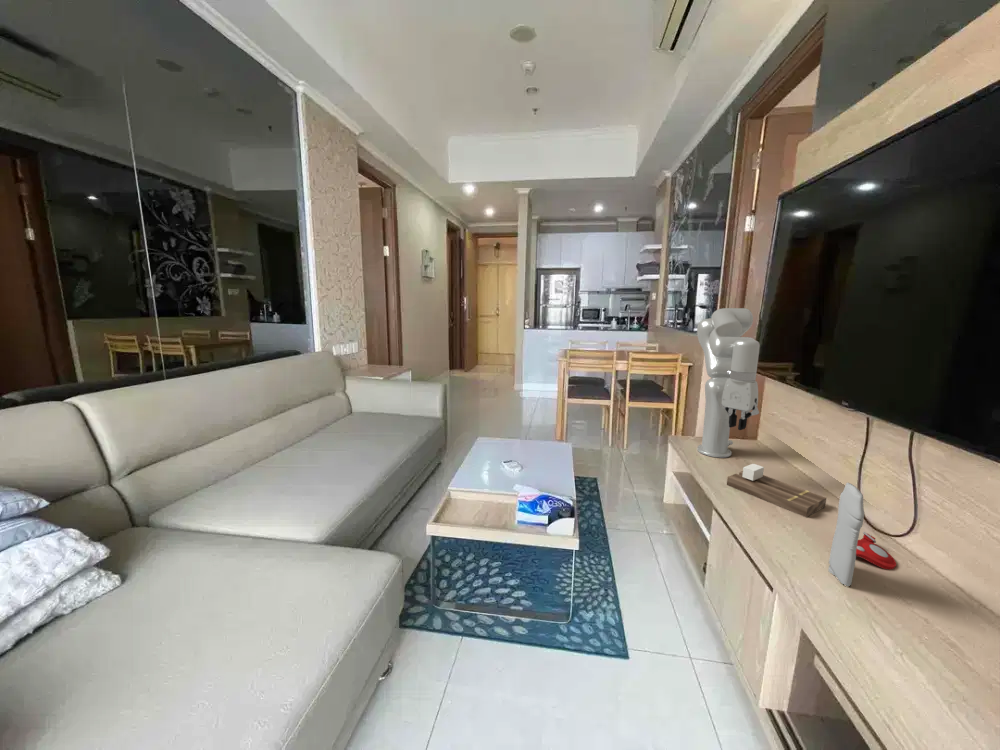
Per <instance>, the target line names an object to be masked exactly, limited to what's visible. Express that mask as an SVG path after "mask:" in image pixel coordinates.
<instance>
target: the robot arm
mask: <svg viewBox="0 0 1000 750" xmlns="http://www.w3.org/2000/svg"><path fill="white" fill-rule="evenodd" d="M753 322H754V315H753V313H752V312H751V310H750V309H748V308H745V307H742V308H739V307H738V308H737V307H736V308H735V307H726V308H725V307H723V308H719V309H716V310H715V311H713V313H712V314H711V318H710V317H709V318H705V319H701V320H700V321H699V322H698V323H697V328H696V335H697V340H698V342H699V345H700V347H701V348H702V351H703V355H704V363H705V370H706V373H707V376H708V377H709V379H707V380H706V381H705V384H704V396H705V407H704V419H703V428H702V438H701V444H699V445H697V447H696V448H697V451H698V452H699V453H700V454H703V455H704V456H708V457H711V458H712V457H713V458H719V459H720V458H721V459H722V458H723V459H725V458H729V457H731V456H732V451H731V449H729V446H731V445H733V444H734V443H733V441H732V440H731V439H730V438H729V437H730V431H731V430H730V429H731V428H734V427H736V426H737V425H738V426H737V428H738V430H739V431H742V430H745V428H747V422H748V419H749V418H750V417H752V416H757V415H759V414H760V411H759V407H758V403H759V385H758V381H756V380H757V379H756V378H757V371H758V370H757V369H758V362H759V355H760V348H761V346H760V342H759V341H758V340H756V339H755V338H754V337H747V336H744V335H745V333H746V332H748V331H749V330H750V328H752V325H753ZM737 410H738V411H741V413H740V414H741V416H740V418H739V419H738V415H736V414H737ZM737 419H738V420H737ZM737 421H738V424H737Z"/></svg>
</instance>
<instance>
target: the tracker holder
mask: <svg viewBox="0 0 1000 750" xmlns="http://www.w3.org/2000/svg"><path fill="white" fill-rule="evenodd" d="M862 533H863V536H862V538H860V539H858V542H857V549H856V557H859V558H862V559H863V560H866V562H869V563H870V564H873V565H875V566H877V567H879V568H881V569H884V570H887V569H888V570H889V571H890V570H893V569H895V568H896V566H897V562H896V559H895V558H894V556H892V555H891V553H889V552H888V551H886V550H885V549H884V548H883V547H882V546H879V545H877V541H876V537H874V536H873V535H872V534H871V535H870V534H869V533H867V532H866V531H863V532H862Z"/></svg>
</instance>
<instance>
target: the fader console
mask: <svg viewBox="0 0 1000 750" xmlns="http://www.w3.org/2000/svg"><path fill="white" fill-rule="evenodd" d="M742 475H743V470H742V471H740V472H738V473H734V474H731V475H729V476H727V478H726V486H728V487H730V488H734V489H736V490H738V491H741V492H743V493H746V494H748V495H751V496H753V497H755V498H758V499H760V500H763V501H765V502H768V503H770V504H773V505H775V506H778V507H780V508H782V509H784V510H786V511H790V512H792V513H795V514H797V515H800V516H802V517H805V518H807V517H809V516H812V515H813V514H815V513H816V512H819V511H820V510H821V509H823V508H826V504H827V497H826V496H823V495H820V494H818V493H815V492H812V491H811V490H806V489H804V488H801V487H798V486H795V485H793V484H789V483H787V482H784V481H782V480H779V479H776V478H773V477H771V476H767V475H764V474H763V477H761V478H759V479H756V480H755V481H752V480H749V479H747V478H744V477H742Z"/></svg>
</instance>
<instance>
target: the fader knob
mask: <svg viewBox="0 0 1000 750" xmlns="http://www.w3.org/2000/svg"><path fill="white" fill-rule="evenodd" d="M764 470H765V467H764V466H761V465H759V464H756V463H751V464H748V465H746V466H743V468H742V471H743V475H742V477H744V478H747V479H749V480H752V481H755V480H756V479H759V478H761V477H763V475H764Z"/></svg>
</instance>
